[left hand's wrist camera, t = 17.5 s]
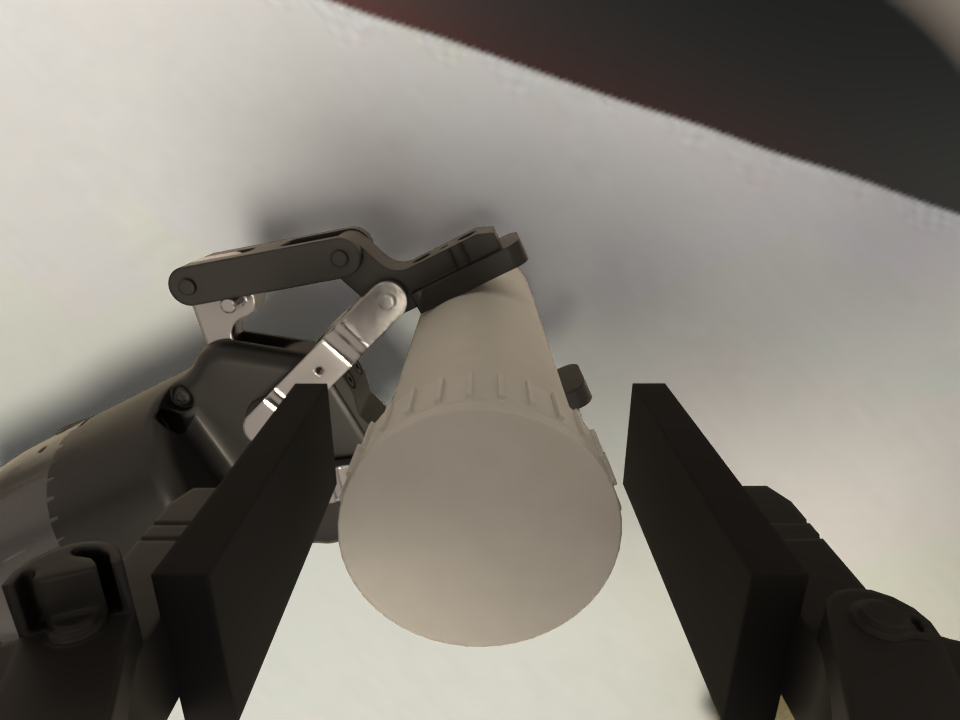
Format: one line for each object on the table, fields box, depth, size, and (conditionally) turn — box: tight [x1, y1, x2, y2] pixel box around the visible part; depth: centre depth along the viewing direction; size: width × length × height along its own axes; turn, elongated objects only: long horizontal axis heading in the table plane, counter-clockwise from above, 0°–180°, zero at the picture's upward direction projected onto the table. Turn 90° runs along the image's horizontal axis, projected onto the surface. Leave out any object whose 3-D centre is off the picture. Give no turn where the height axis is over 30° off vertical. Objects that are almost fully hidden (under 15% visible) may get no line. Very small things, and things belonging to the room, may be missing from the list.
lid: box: [337, 372, 622, 647], centre depth 11 cm, size 5×5×2 cm
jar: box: [392, 268, 569, 406], centre depth 19 cm, size 4×4×16 cm
